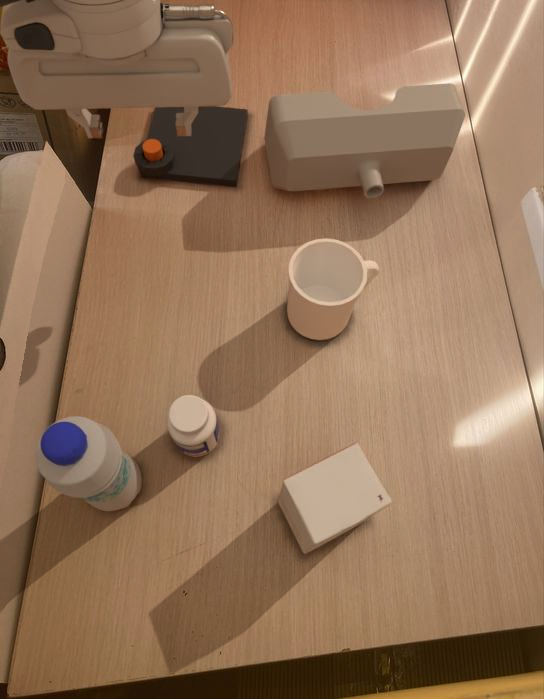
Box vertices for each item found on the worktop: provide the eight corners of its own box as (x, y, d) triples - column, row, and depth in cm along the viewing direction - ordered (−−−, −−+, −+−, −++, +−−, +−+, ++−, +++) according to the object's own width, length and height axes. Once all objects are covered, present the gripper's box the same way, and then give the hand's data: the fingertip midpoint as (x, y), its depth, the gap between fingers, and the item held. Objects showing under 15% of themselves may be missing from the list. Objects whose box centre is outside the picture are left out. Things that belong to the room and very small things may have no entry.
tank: (277, 228, 75) (282, 164, 64) (263, 142, 81) (265, 70, 70) (449, 214, 77) (484, 149, 66) (423, 131, 84) (450, 58, 72)
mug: (294, 352, 67) (301, 313, 58) (275, 292, 71) (279, 247, 61) (376, 332, 69) (395, 291, 60) (353, 274, 72) (368, 228, 63)
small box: (338, 468, 62) (358, 440, 50) (367, 520, 59) (395, 503, 48) (275, 501, 60) (281, 479, 48) (302, 555, 58) (315, 547, 46)
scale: (134, 181, 78) (130, 166, 75) (153, 107, 84) (150, 91, 81) (235, 191, 78) (235, 176, 75) (247, 116, 84) (247, 100, 81)
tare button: (143, 161, 76) (140, 151, 74) (146, 147, 77) (144, 137, 75) (161, 163, 76) (159, 153, 74) (164, 149, 77) (162, 139, 75)
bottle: (130, 443, 62) (79, 383, 44) (157, 494, 60) (115, 452, 42) (76, 475, 60) (-1, 426, 42) (102, 528, 58) (33, 500, 40)
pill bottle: (193, 405, 64) (185, 378, 56) (228, 430, 63) (225, 406, 55) (165, 440, 62) (151, 418, 54) (200, 467, 61) (192, 448, 53)
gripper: (230, -20, 47) (236, 109, 60) (-9, -17, 46) (49, 113, 59) (232, 29, 44) (238, 153, 57) (-21, 32, 43) (42, 157, 56)
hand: (140, 133), depth 58 cm, fingers open, 8 cm apart
